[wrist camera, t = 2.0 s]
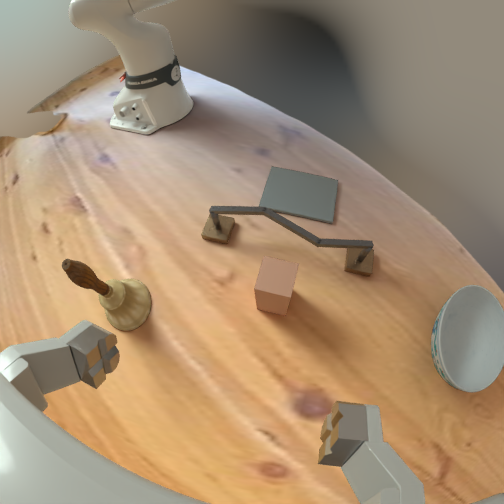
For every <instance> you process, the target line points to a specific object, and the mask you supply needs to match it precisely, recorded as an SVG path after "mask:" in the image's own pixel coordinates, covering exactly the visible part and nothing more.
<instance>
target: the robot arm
mask: <svg viewBox="0 0 504 504" xmlns="http://www.w3.org/2000/svg"><path fill="white" fill-rule="evenodd" d="M173 1H175V0H72V1H71V4H70V6H69V18H70V21H71V22H72V24H73V25H74V26H75V27H77V28H79V29H82V30H88V31H93V32H96V33H99V34H101V35H103V36H105V37H106V38H108V39H109V40H110V41H111V42H112V43H113V44H114V45H115V47H116V48H117V50H118V52H119V54H120V56H121V59H122V61H123V63H124V66H125V69H126V72H125V74H124V75H123V76H121V77H120V78H119V79H121V78H122V77H123V78H122V79H121V81H120V82H122V81H123V80H124V79H125V78H126V79H125V87H124V88H123V89H122V91H121V92H120V93H119V95H118V96H117V98H116V99H115V101H114V104H113V108H114V112H115V114H114V116H113V117H112V119H111V121H110V126H111V128H116V129H121V130H126V131H131V132H136V133H141V134H146V135H148V134H151V133H153V132H154V131H156V130H158V129H159V128H161V127H164V126H167V125H170V124H172V123H174V122H176V121H178V120H180V119H182V118H183V117H184V116H186V115H187V114H188V113H189V112H190V111H191V109H192V107H193V100H192V99H191V97H190V96H189V94H188V92H187V91H186V89H185V86H184V84H183V82H182V79H181V72H180V67H179V63H178V59H177V56H175V55H174V51H173V47H172V43H171V39H170V34H169V31H168V30H167V28H166V27H164V26H162V25H160V24H157V23H147V22H141V21H138V20H137V19H136V18H135V17H134V16H133V14H135V13H137V12H141V11H143V10H147V9H150V8H153V7H157V6H160V5H164V4H168V3H170V2H173ZM116 344H117V338H116V335H114V334H113V333H111V332H109V331H107V330H105V329H103V328H101V327H99V326H97V325H95V324H93V323H91V322H89V321H87V320H83V321H81V322H80V323H78V324H77V325H76V326H74V327H73V328H72V329H70V330H69V331H68V332H67V333H65V334H64V335H63V336H61V337H60V338H59V339H58V338H50V339H45V340H40V341H34V342H29V343H23V344H17V345H11V346H9V347H8V348H7V349H5V350H4V351H3V352H1V353H0V504H210V503H207V502H204V501H201V500H198V499H195V498H192V497H189V496H186V495H183V494H181V493H178V492H176V491H173V490H171V489H168V488H166V487H163V486H161V485H159V484H156V483H154V482H152V481H150V480H148V479H145V478H143V477H141V476H139V475H137V474H135V473H133V472H131V471H129V470H127V469H126V468H124V467H122V466H120V465H118V464H116V463H115V462H113V461H111V460H109V459H108V458H106V457H104V456H103V455H101V454H99V453H98V452H96V451H94V450H93V449H91V448H90V447H88V446H87V445H85V444H84V443H82V442H81V441H79V440H78V439H76V438H75V437H74V436H72V435H71V434H69V433H68V432H67V431H65V430H64V429H63V428H61V427H60V426H59V425H57V424H56V423H55V422H54V421H52V420H51V419H50V418H49V417H47V416H46V415H45V414H44V413H43V411H44V410H45V409H46V408H47V407H48V403H47V401H46V399H45V397H44V394H47V393H50V392H52V391H55V390H58V389H61V388H63V387H66V386H69V385H71V384H74V383H77V382H79V381H80V380H81V381H83V382H85V383H87V384H88V385H90V386H92V387H94V388H95V389H97V388H98V387H99V386H100V385H101V384H102V383H103V382H104V381H105V379H106V374H108V373H111V372H113V371H114V370H115V369H116V367H117V365H118V363H119V357H120V355H119V351H118V349H117V348H116V346H115V345H116ZM320 439H321V440H322V442H323V444H322V446H321V447H320V449H319V459H318V464H322V465H330V466H339V467H341V469H342V471H343V473H344V475H345V476H346V478H347V480H348V482H349V484H350V486H351V487H352V489H353V491H354V493H355V495H356V496H357V498H358V500H359V502H360V504H425V496H424V486H423V484H422V482H421V481H420V480H419V479H418V478H417V477H416V475H415V474H414V473H413V472H412V471H411V470H410V468H409V467H408V466H407V465H406V464H405V463H404V461H403V460H402V459H401V458H400V457H399V456H398V454H397V453H396V452H395V451H394V450H393V449H392V447H391V446H390V445H389V444H388V443H387V442H383V433H382V425H381V417H380V410H379V407H378V405H367V404H359V403H350V402H342V401H336V402H335V403H334V405H333V406H332V413H331V414H328V415H327V417H326V419H325V420H324V423H323V426H322V430H321V437H320ZM471 504H504V493H499V494H496V495H493V496H490V497H488V498H485V499H483V500H480V501H477V502H474V503H471Z"/></svg>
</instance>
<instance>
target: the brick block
mask: <svg viewBox="0 0 504 504" xmlns="http://www.w3.org/2000/svg"><path fill="white" fill-rule="evenodd" d="M298 265H299V264H298V263H294V262H289V261H285V260H280V259H276V258H272V257H267V256H264V257H263V260H262V264H261V267H260V271H259V274H258V278H257V281H256V284H255V288H254V291H255V298H256V305H257V309H259V310H263V311H267V312H271V313H275V314H279V315H283V316H286V313H287V309H288V306H289V303H290V299H291V295H292V291H293V287H294V283H295V278H296V274H297V270H298Z"/></svg>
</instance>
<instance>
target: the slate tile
mask: <svg viewBox="0 0 504 504" xmlns="http://www.w3.org/2000/svg"><path fill="white" fill-rule="evenodd" d="M337 186H338V180H335V179H331V178H327V177H322V176H318V175H313V174H308V173H304V172H299V171H294V170H289V169H283V168H278V167H271V171H270V174H269V177H268V180H267V183H266V186H265V189H264V192H263V195H262V198H261V201H260V204H259V207H266V208H268V209H270V210H272V211H276V212H280V213H285V214H290V215H294V216H299V217H304V218H308V219H312V220H317V221H321V222H326V223H330V224H332V223H333V217H334V210H335V202H336V194H337Z"/></svg>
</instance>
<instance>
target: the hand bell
mask: <svg viewBox="0 0 504 504" xmlns="http://www.w3.org/2000/svg"><path fill="white" fill-rule="evenodd" d="M62 268H63V270H64V271H65V272H66V274H67V275H68V277H69V278H70V279H71V281H72V282H74V283H75V284H77V285H78V286H80V287H83V288H86V289H93V290H95V291H96V292H97V293H99V301H100V304H101V305H102V306H103V307H104V308H105V314H106V317H107V319H108V321H109V322H110V324H111V325H112V326H114V327H115V328H117V329H119V330H122V331H130V330H134V329H136V328H138V327H139V326H140V325H142V324H143V323H144V322H145V320H146V319H147V317H148V315H149V313H150V309H151V296H150V293H149V290H148V289H147V287H146V286H145V285H144V284H143V283H142V282H140V281H139V280H136V279H124V280H121V281H119V280H116V279H111V280H108V281H106V282H105V283H104V282H103V281H101V280H99V279H98V278H97V276H96V275H95V273H94V272H93V270H92V269H91V268H90V267H88V266H87V265H86V264H84V263H82V262H79V261H73V260H70V259H66V260H64V261H63V263H62Z"/></svg>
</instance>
